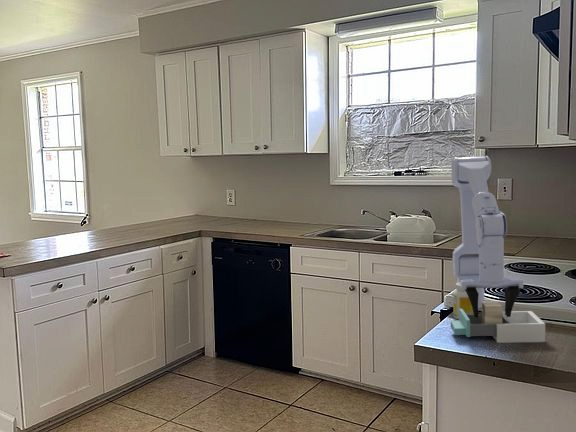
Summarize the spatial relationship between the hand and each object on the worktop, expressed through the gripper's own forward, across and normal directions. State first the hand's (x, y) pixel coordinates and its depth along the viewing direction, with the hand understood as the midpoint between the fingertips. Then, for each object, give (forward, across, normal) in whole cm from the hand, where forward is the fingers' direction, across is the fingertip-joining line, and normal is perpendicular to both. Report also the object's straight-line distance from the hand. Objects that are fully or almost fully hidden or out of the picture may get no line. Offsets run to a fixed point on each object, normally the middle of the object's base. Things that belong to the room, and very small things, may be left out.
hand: (491, 316), depth 135 cm
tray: (+4, -3, 0) cm, 5 cm away
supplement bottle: (+5, -4, +14) cm, 16 cm away
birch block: (+3, 0, 0) cm, 3 cm away
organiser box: (+5, +6, 0) cm, 7 cm away
